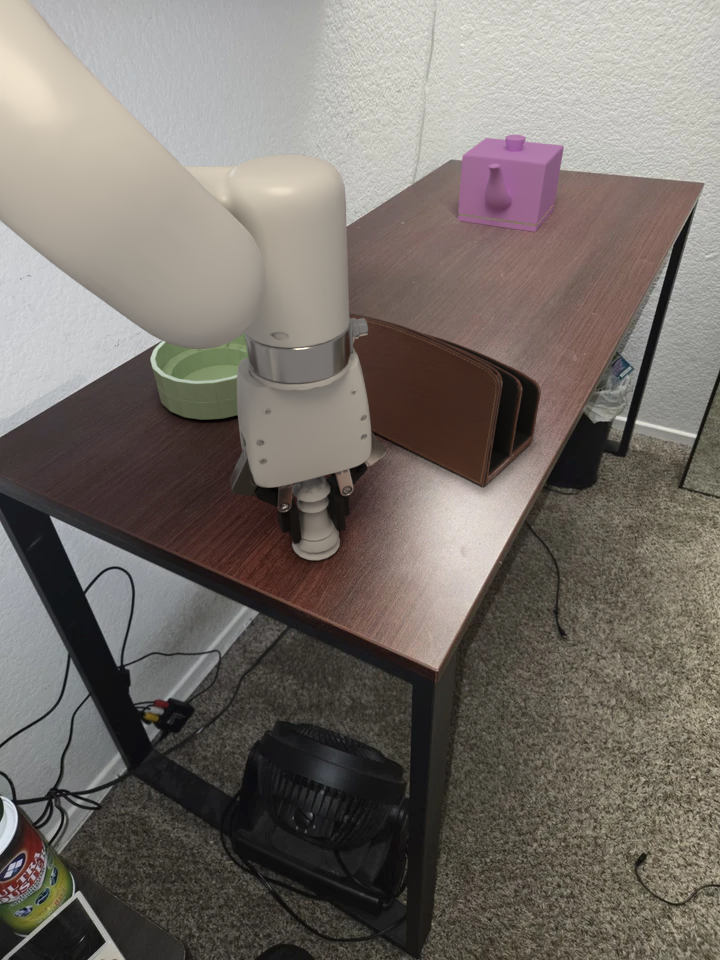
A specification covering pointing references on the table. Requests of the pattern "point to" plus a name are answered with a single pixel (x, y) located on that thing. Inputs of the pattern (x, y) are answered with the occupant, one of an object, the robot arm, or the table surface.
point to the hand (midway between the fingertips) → (314, 525)
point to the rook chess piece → (315, 520)
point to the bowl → (199, 378)
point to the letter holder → (446, 400)
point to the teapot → (509, 182)
